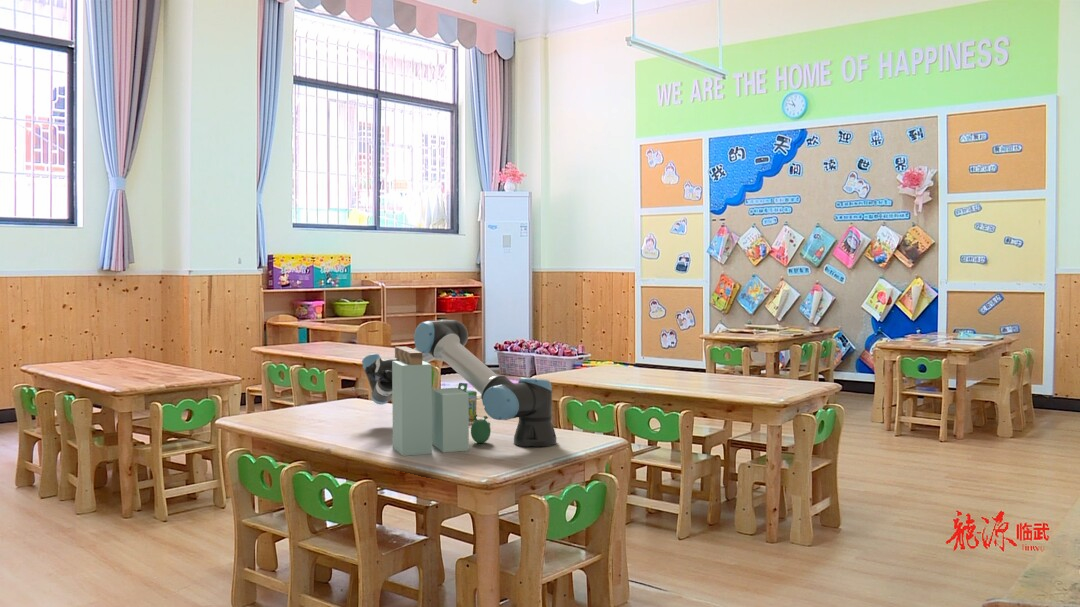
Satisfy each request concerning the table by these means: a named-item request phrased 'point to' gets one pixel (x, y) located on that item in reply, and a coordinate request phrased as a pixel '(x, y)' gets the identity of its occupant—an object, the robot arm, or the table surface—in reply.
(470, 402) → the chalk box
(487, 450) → the table surface
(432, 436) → the step shelf
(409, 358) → the walnut rod
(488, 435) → the alien toy
